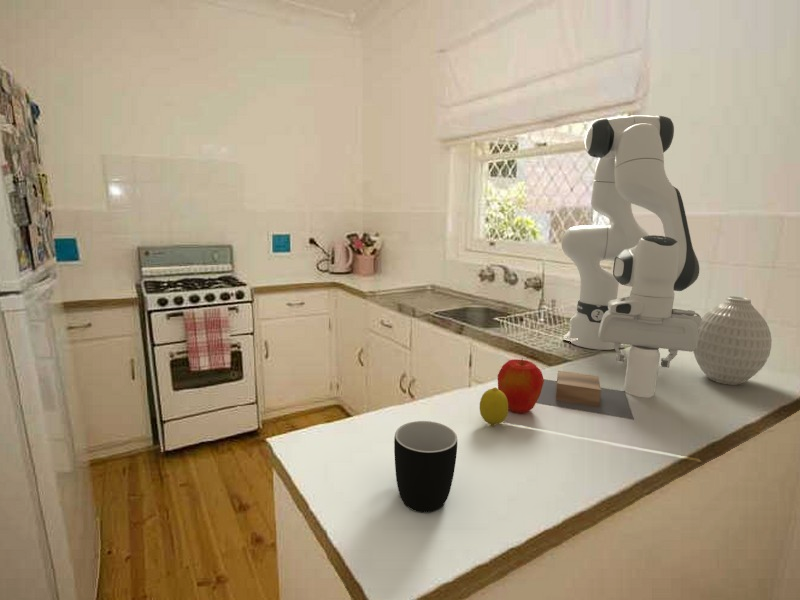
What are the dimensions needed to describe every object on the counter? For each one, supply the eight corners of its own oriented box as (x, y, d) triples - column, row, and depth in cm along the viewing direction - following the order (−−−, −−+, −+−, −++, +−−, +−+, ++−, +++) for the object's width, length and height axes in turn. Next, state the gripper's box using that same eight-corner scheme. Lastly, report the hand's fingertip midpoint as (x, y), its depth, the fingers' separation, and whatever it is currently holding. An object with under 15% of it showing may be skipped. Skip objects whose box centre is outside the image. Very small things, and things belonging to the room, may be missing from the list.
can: (659, 399, 102) (667, 350, 99) (631, 398, 102) (638, 349, 99) (644, 388, 108) (651, 342, 106) (618, 387, 108) (624, 341, 106)
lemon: (475, 428, 85) (478, 390, 84) (481, 417, 90) (483, 380, 89) (504, 434, 83) (507, 395, 82) (508, 422, 88) (511, 385, 87)
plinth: (556, 385, 107) (558, 370, 106) (596, 392, 104) (598, 376, 103) (555, 399, 99) (557, 383, 98) (598, 407, 96) (601, 390, 95)
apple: (487, 409, 94) (491, 356, 91) (510, 398, 100) (515, 348, 98) (525, 425, 87) (530, 368, 85) (548, 412, 93) (553, 359, 91)
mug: (466, 508, 62) (470, 443, 60) (410, 527, 58) (413, 458, 56) (423, 465, 72) (426, 408, 70) (374, 478, 68) (375, 418, 66)
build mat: (530, 378, 112) (530, 377, 112) (624, 392, 105) (624, 391, 105) (524, 402, 98) (524, 400, 98) (633, 421, 90) (634, 419, 90)
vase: (745, 397, 104) (762, 306, 100) (675, 375, 118) (688, 294, 114) (774, 385, 113) (791, 301, 108) (705, 366, 126) (718, 290, 122)
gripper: (698, 308, 100) (689, 366, 103) (601, 300, 107) (595, 354, 110) (706, 314, 94) (696, 374, 97) (603, 304, 101) (596, 361, 104)
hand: (642, 363), depth 103 cm, fingers open, 8 cm apart
